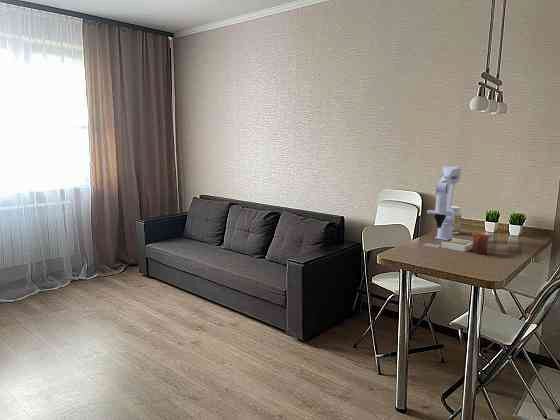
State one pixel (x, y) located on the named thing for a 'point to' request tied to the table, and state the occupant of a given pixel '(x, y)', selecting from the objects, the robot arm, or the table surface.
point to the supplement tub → (456, 220)
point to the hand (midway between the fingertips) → (439, 227)
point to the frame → (458, 247)
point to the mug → (480, 242)
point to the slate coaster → (432, 245)
